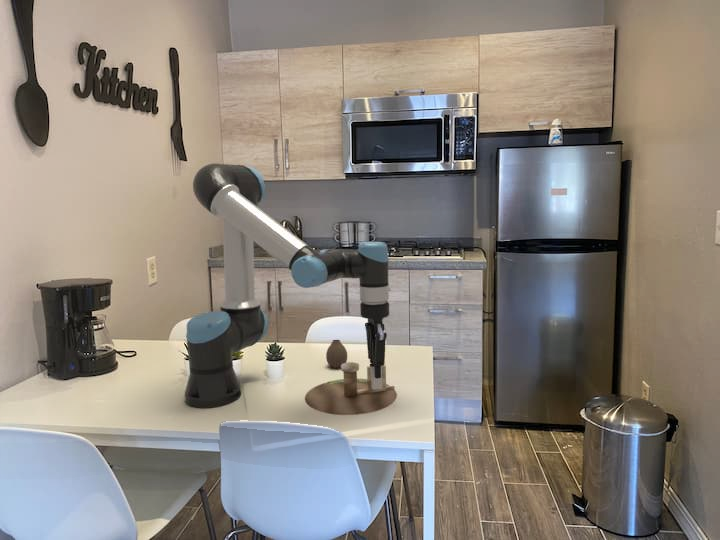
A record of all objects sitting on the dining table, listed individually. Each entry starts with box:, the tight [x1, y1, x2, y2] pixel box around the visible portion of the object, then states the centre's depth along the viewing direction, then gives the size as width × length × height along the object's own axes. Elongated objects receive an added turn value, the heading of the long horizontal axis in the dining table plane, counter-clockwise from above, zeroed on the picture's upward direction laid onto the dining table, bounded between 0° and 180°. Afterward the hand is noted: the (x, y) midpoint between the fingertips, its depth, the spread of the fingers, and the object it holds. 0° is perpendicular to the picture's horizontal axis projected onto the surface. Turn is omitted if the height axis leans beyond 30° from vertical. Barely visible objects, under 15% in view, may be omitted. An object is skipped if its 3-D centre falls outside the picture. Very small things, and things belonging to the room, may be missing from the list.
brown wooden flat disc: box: [304, 378, 398, 416], centre depth 137 cm, size 25×25×1 cm
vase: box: [325, 339, 348, 369], centre depth 164 cm, size 7×7×9 cm
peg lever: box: [340, 361, 395, 397], centre depth 137 cm, size 15×5×8 cm, turn 106°
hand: (376, 388), depth 134 cm, fingers closed
